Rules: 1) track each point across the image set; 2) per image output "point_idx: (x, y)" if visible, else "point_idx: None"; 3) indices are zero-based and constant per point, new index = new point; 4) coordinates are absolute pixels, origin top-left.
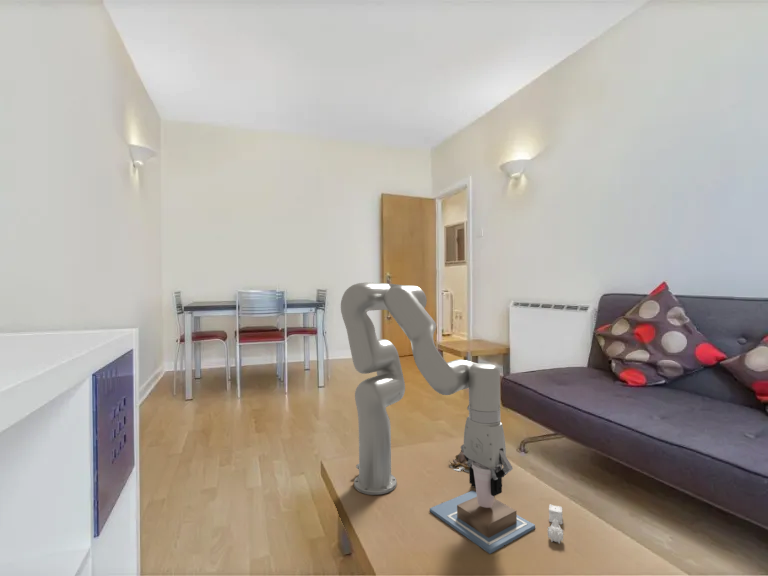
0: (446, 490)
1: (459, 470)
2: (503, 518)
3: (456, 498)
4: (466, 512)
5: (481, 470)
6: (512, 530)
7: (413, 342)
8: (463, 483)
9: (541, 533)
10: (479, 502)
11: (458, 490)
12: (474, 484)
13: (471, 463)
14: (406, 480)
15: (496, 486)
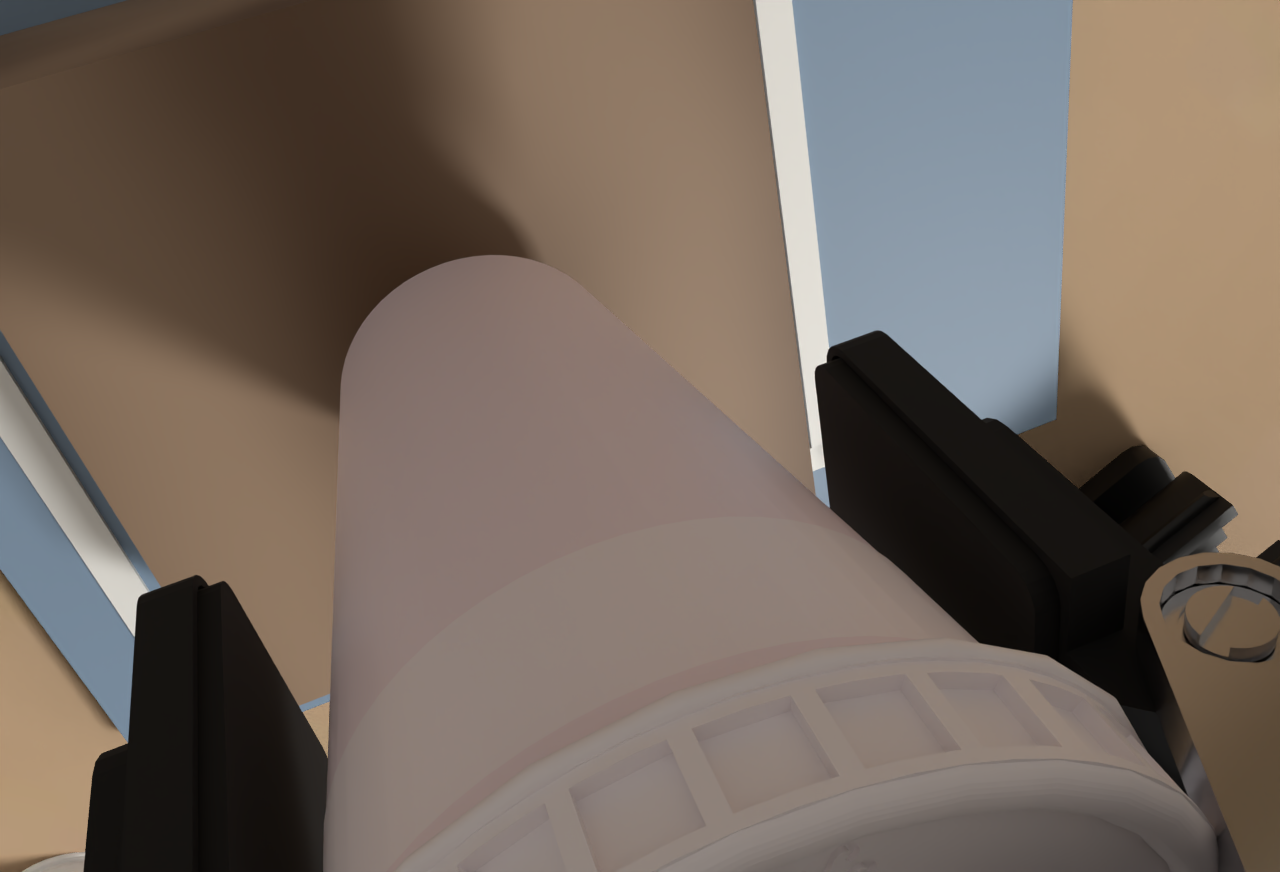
0: (1268, 114)
1: None
2: (108, 486)
3: (1043, 126)
4: None
5: None
6: (71, 494)
7: None
8: (1231, 385)
9: (33, 763)
10: (466, 278)
11: (1173, 264)
12: (1134, 484)
13: (1188, 722)
14: None
15: (116, 856)
